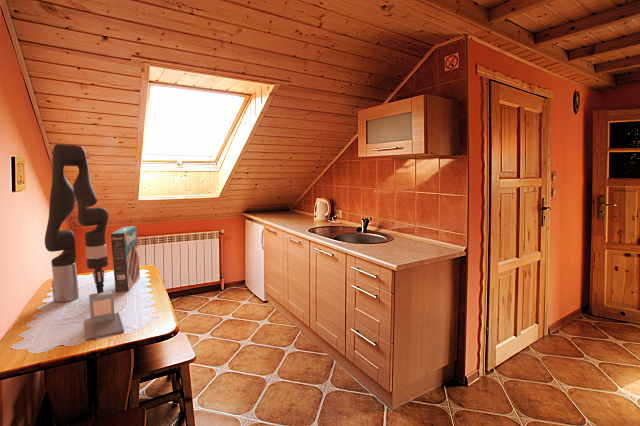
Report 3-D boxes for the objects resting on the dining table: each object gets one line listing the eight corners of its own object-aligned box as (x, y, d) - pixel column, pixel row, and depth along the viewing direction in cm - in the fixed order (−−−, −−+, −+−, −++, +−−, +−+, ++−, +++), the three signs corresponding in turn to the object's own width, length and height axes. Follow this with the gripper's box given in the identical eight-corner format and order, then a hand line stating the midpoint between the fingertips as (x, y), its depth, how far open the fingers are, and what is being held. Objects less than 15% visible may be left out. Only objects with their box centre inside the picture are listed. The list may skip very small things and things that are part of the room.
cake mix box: (128, 291, 180) (124, 233, 176) (115, 292, 179) (110, 233, 175) (140, 278, 201) (136, 226, 197) (128, 278, 200) (124, 226, 196)
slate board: (85, 321, 145) (85, 319, 145) (118, 314, 152) (118, 312, 151) (86, 340, 128) (86, 338, 128) (123, 332, 135) (123, 330, 135)
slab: (91, 324, 140) (89, 297, 139) (91, 320, 143) (88, 294, 142) (115, 319, 145) (112, 293, 143) (114, 315, 148) (111, 290, 147)
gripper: (85, 254, 150) (89, 293, 152) (86, 260, 139) (90, 302, 141) (106, 251, 154) (109, 289, 156) (108, 257, 143) (112, 298, 145)
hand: (100, 295), depth 149 cm, fingers closed
